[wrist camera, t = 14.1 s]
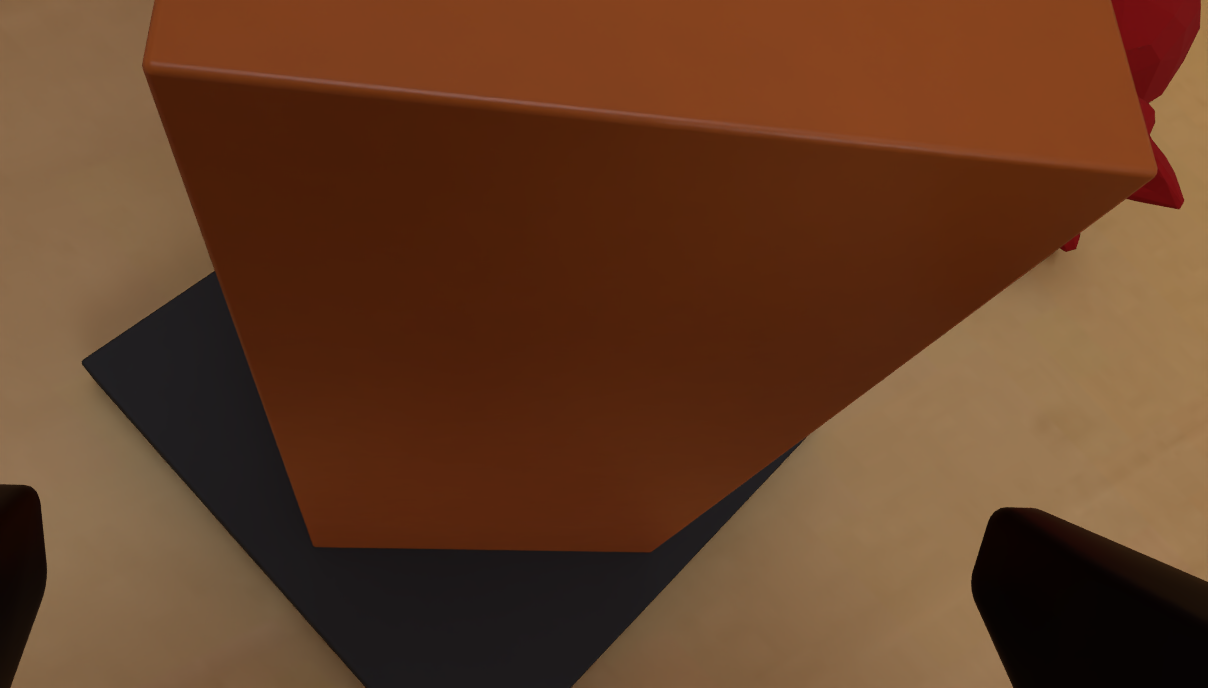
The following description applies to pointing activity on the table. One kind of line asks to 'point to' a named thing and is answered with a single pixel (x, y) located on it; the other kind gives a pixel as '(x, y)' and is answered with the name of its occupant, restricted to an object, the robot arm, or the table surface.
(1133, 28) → the figurine
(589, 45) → the orange block
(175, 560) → the table surface
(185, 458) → the foam pad
